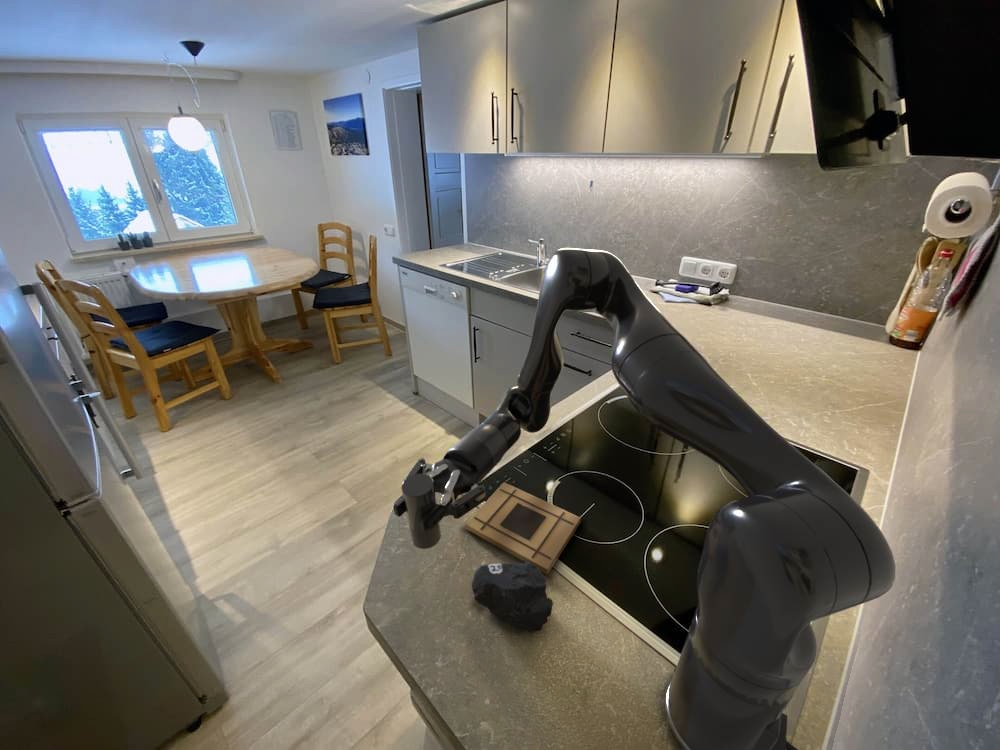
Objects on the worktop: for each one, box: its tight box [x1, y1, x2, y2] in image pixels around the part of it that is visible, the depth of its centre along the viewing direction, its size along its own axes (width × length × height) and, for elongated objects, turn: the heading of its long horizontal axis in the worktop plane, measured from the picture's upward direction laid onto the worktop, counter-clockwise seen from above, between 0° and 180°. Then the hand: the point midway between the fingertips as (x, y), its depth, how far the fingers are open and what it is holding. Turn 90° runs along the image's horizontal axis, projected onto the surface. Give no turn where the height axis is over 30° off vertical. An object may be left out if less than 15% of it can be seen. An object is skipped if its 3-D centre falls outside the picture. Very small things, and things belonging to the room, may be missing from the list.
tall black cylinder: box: [401, 474, 442, 550], centre depth 63 cm, size 5×5×11 cm
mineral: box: [471, 562, 554, 634], centre depth 58 cm, size 10×9×6 cm
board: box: [464, 482, 582, 575], centre depth 71 cm, size 16×12×1 cm
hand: (409, 518), depth 60 cm, fingers closed on tall black cylinder, 4 cm apart
